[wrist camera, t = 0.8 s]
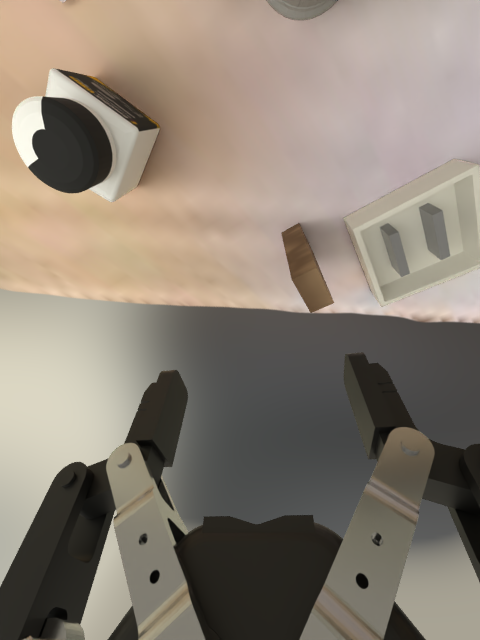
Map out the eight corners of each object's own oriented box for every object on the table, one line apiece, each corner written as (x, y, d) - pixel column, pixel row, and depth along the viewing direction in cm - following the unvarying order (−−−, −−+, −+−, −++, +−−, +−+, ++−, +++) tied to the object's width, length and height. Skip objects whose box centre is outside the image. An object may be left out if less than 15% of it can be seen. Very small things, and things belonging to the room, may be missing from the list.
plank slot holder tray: (454, 158, 29) (479, 164, 26) (466, 250, 35) (487, 264, 32) (343, 218, 33) (352, 229, 30) (371, 291, 39) (381, 307, 36)
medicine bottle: (161, 126, 28) (114, 134, 19) (137, 188, 32) (87, 220, 22) (93, 75, 26) (0, 54, 16) (75, 148, 30) (-9, 165, 20)
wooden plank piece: (299, 223, 34) (316, 267, 24) (312, 251, 36) (334, 302, 26) (281, 232, 34) (291, 279, 25) (296, 260, 37) (310, 312, 27)
